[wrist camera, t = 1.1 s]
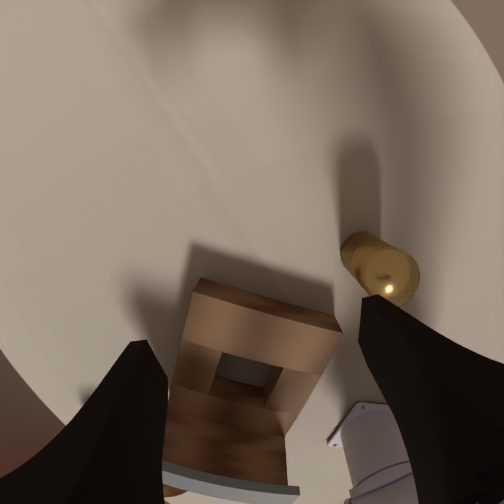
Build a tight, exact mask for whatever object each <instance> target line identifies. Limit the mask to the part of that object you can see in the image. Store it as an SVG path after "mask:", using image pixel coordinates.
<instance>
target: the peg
mask: <svg viewBox="0 0 504 504" xmlns="http://www.w3.org/2000/svg"><path fill="white" fill-rule="evenodd" d="M340 255H341V261H342V263H343V265H344V267H345V268H346V269H347V270H348V271H349V272H350V274H351V275H352V276H353V277H354V278H355V279H356V280H357V281H358V283H359V284H360V285H361V286H362V287H363V288H364V290H365V291H366V292H367V293H368V294H369V295H370V296H373V295H376V294H379V295H381V296H382V297H384V298H385V299H387V300H389V301H390V302H392V303H393V304H395V305H396V306H398V307H399V306H401V305H403V304H405V303H406V302H407V301H408V300H409V299H410V298H411V297H412V296H413V295H414V293H415V292H416V290H417V287H418V284H419V279H420V272H419V267H418V265H417V263H416V261H415V260H414V259H413V258H412V257H411V256H409V255H407V254H406V253H404V252H402V251H401V250H399V249H397V248H395V247H394V246H392V245H390V244H388V243H387V242H385V241H383V240H381V239H379V238H378V237H376V236H374V235H372V234H370V233H368V232H356V233H354V234H352V235H350V236H349V237H348V238H347V239H346V240H345V241H344V243H343V245H342V248H341V254H340Z"/></svg>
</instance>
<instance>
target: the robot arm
mask: <svg viewBox="0 0 504 504" xmlns="http://www.w3.org/2000/svg"><path fill="white" fill-rule="evenodd" d="M358 342H359V345H360V347H361V350H362V353H363V356H364V358H365V361H366V363H367V366H368V368H369V370H370V371H371V373H372V375H373V377H374V379H375V381H376V383H377V385H378V387H379V388H380V390H381V392H382V394H383V396H384V398H385V400H386V402H387V404H388V405H387V404H375V403H365V402H358V403H356V404H355V406H354V407H353V408H352V410H351V411H350V413H349V414H348V416H347V417H346V418H345V420H344V421H343V423H342V424H341V425H340V427H339V428H338V429H337V431H336V432H335V433H334V435H333V436H332V437H331V439H330V440H329V441H328V442H327V446H328V447H337V448H343V449H344V453H345V457H346V461H347V465H348V469H349V473H350V477H351V481H352V485H353V489H350V490H349V492H350V496H351V498H348V499H346V500H345V501H344V504H504V364H503V363H500V362H497V361H494V360H492V359H489V358H487V357H484V356H482V355H480V354H478V353H475V352H473V351H471V350H469V349H467V348H465V347H463V346H461V345H459V344H457V343H455V342H453V341H452V340H450V339H448V338H446V337H445V336H443V335H441V334H439V333H438V332H436V331H434V330H433V329H431V328H430V327H428V326H426V325H425V324H423V323H422V322H420V321H419V320H417V319H416V318H414V317H413V316H411V315H410V314H408V313H407V312H405V311H404V310H402V309H401V308H399V307H398V306H396V305H395V304H393V303H392V302H390V301H389V300H387V299H385V298H384V297H382V296H381V295H379V294H376V295H373V296H369V297H365V298H362V307H361V319H360V329H359V339H358ZM362 406H363V407H362ZM167 408H168V377H167V376H166V374H165V372H164V371H163V369H162V367H161V365H160V364H159V362H158V360H157V358H156V356H155V355H154V353H153V351H152V349H151V347H150V345H149V344H148V342H147V340H140V341H131V342H130V343H129V344H128V346H127V347H126V348H125V350H124V351H123V352H122V354H121V355H120V356H119V358H118V359H117V361H116V362H115V363H114V365H113V366H112V368H111V369H110V370H109V372H108V373H107V375H106V376H105V377H104V379H103V380H102V382H101V383H100V384H99V386H98V387H97V389H96V390H95V391H94V392H93V394H92V395H91V396H90V398H89V399H88V400H87V401H86V403H85V404H84V405H83V407H82V408H81V409H80V410H79V412H78V413H77V414H76V415H75V416H74V418H73V419H72V420H71V421H70V422H69V423H68V424H67V425H66V426H65V428H64V429H63V430H62V431H61V432H60V433H59V434H58V435H57V436H56V437H55V438H54V439H53V440H51V441H50V442H49V443H48V444H47V445H46V446H45V447H44V448H43V449H42V450H41V451H39V452H38V453H37V454H36V455H34V456H33V457H32V458H31V459H29V460H28V461H27V462H25V463H24V464H23V465H21V466H20V467H18V468H17V469H15V470H14V471H12V472H10V473H9V474H7V475H5V476H3V477H2V478H0V504H165V503H164V493H163V479H162V455H163V445H164V435H165V426H166V417H167Z"/></svg>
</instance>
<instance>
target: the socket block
mask: <svg viewBox="0 0 504 504" xmlns="http://www.w3.org/2000/svg"><path fill="white" fill-rule="evenodd" d="M342 334H343V332H342V330H341V328H340V326H339V324H338V322H337V320H336V318H335V316H331V315H328V314H324V313H320V312H316V311H313V310H309V309H305V308H302V307H298V306H294V305H291V304H287V303H284V302H280V301H276V300H273V299H269V298H266V297H263V296H259V295H256V294H252V293H249V292H245V291H242V290H239V289H235V288H232V287H229V286H225V285H222V284H219V283H216V282H212V281H209V280H206V279H203V278H200V280H199V282H198V283H197V285H196V287H195V289H194V290H193V293H192V297H191V301H190V305H189V309H188V313H187V318H186V322H185V326H184V330H183V335H182V339H181V344H180V348H179V353H178V357H177V362H176V366H175V371H174V376H173V381H172V386H171V391H170V396H169V401H168V408H167V417H166V426H165V435H164V445H163V455H162V479H163V484H165V485H168V486H172V487H175V488H179V489H182V490H186V491H190V492H194V493H198V494H203V495H207V496H212V497H217V498H222V499H227V500H233V501H239V502H246V503H254V504H291V503H292V502H294V501H295V500H296V499H297V498H298V497H299V496H300V490H299V486H288V480H287V465H286V450H285V435H286V434H287V432H288V431H289V429H290V428H291V426H292V424H293V423H294V421H295V420H296V418H297V416H298V415H299V413H300V412H301V410H302V408H303V407H304V405H305V403H306V401H307V400H308V398H309V396H310V395H311V393H312V391H313V389H314V388H315V386H316V384H317V382H318V380H319V379H320V377H321V375H322V373H323V371H324V369H325V368H326V366H327V364H328V362H329V360H330V358H331V356H332V354H333V352H334V350H335V348H336V346H337V344H338V342H339V340H340V338H341V336H342ZM222 352H225V353H228V354H232V355H235V356H239V357H243V358H247V359H250V360H254V361H258V362H262V363H266V364H270V365H274V367H273V369H272V372H271V374H270V376H269V378H268V381H267V383H266V385H265V387H264V388H260V387H255V386H251V385H247V384H243V383H239V382H235V381H231V380H228V379H224V378H220V377H217V376H215V373H216V370H217V367H218V364H219V360H220V357H221V354H222Z"/></svg>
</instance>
